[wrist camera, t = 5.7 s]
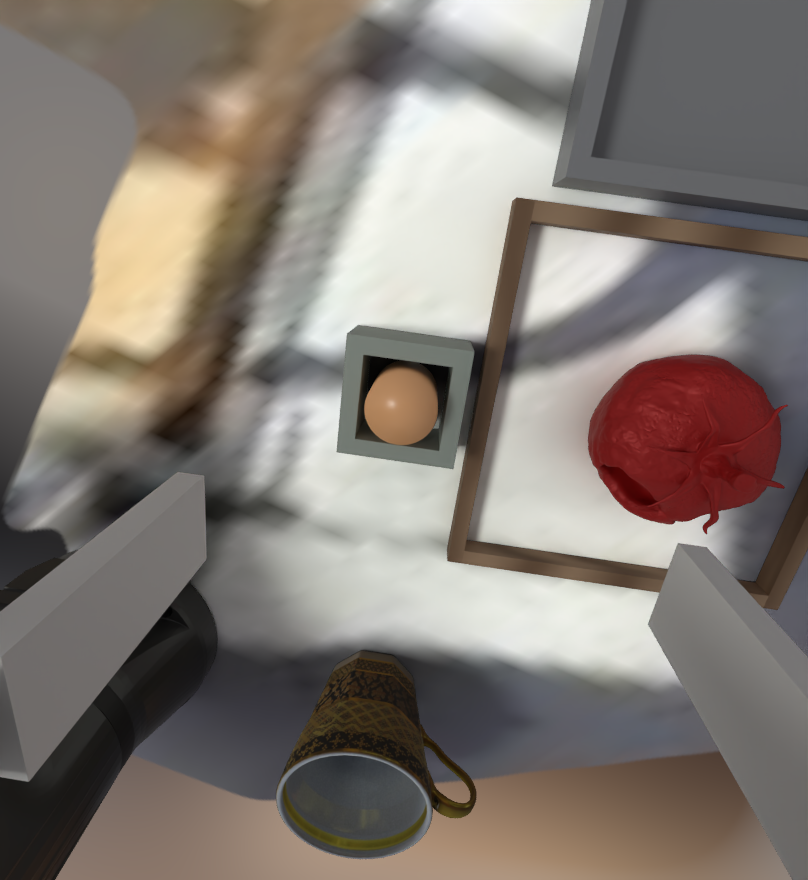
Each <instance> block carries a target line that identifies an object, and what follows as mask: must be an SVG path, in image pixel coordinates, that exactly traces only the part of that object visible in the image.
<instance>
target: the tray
mask: <svg viewBox="0 0 808 880" xmlns="http://www.w3.org/2000/svg"><path fill="white" fill-rule="evenodd" d="M552 186H555V187H562V188H569V189H577V190H584V191H592V192H599V193H606V194H614V195H621V196H628V197H636V198H643V199H650V200H658V201H665V202H672V203H680V204H687V205H694V206H702V207H709V208H717V209H724V210H731V211H739V212H746V213H753V214H761V215H768V216H775V217H783V218H790V219H797V220H805V221H808V0H591V4H590V9H589V14H588V18H587V23H586V28H585V33H584V37H583V42H582V47H581V52H580V56H579V61H578V66H577V70H576V75H575V80H574V85H573V89H572V94H571V99H570V104H569V108H568V113H567V118H566V122H565V127H564V132H563V137H562V141H561V146H560V151H559V156H558V160H557V165H556V170H555V175H554V179H553V184H552Z"/></svg>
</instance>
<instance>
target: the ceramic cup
mask: <svg viewBox="0 0 808 880" xmlns="http://www.w3.org/2000/svg"><path fill="white" fill-rule="evenodd" d="M424 746H426V747H428V748H430V749H431V750H432V751H434V752H435V754H436V755H437V756H438V758H439V759H440V760H441V761H442V762H443V763H444V764H445V765H446V766H447V767H448V768H449V769H450V770H451V771H452V772H454V773H455V774H456V775H457V776H458V777H459V778H461V779H462V781H463V782H464V783H465V784H466V785H467V786H468V788H469V790H470V796H471V797H470V801H468V802H467V803H457V802H454V801H452V800H450V799H448V798H447V797H446V796H444V795H443V794H441V793H440V792H439V791H438V790H437V789H436V787H435V785H434V783H433V780H432V778H431V775H430V773H429V770H428V768H427V763H426V758H425V752H424ZM475 802H476V789H475V786H474V783H473V781H472V780H471V778H470V777H469V776H468V774H467V773H466V772H465V771H464V770H462V769H461V768H460V767H459V766H458V765H457V764H455V763H454V762H453V761H452V760H451V759H450V758H448V757H447V756H446V755H445V754H444V752H443V751H442V750H441V749H440V747H439V746H438V745H437V744H436V743H435V742H434V741H433V740H431V739H430V738H429V737H428V735H427V734H426V733H425V731H424V729H423V727H422V725H421V724H420V720H419V713H418V707H417V702H416V694H415V687H414V679H413V676H412V675H411V674H410V673H409V672H408V671H407V669H406V668H405V667H404V666H403V665H402V664H401V663H400V662H399V661H398V660H397V659H396V658H395V657H394V656H393V655H388V654H382V653H376V652H369V651H363V650H362V651H359V652H357V653H355V654H354V655H352V656H350V657H348V658H347V659H345V660H343V661H341V662H340V663H338V664H337V665H336V666H335V668H334V670H333V672H332V674H331V676H330V678H329V680H328V682H327V684H326V686H325V688H324V690H323V693H322V695H321V697H320V699H319V701H318V703H317V705H316V707H315V709H314V711H313V713H312V716H311V718H310V720H309V721H308V723H307V725H306V726H305V728H304V730H303V732H302V733H301V735H300V737H299V739H298V741H297V743H296V745H295V747H294V749H293V751H292V753H291V756H290V758H289V760H288V762H287V764H286V767H285V769H284V772H283V774H282V776H281V779H280V781H279V784H278V787H277V792H276V803H277V808H278V811H279V814H280V816H281V818H282V819H283V821H284V823H285V824H286V825H287V827H288V828H289V829H290V830H291V831H292V832H293V833H294V834H295V835H296V836H297V837H299V838H300V839H301V840H303V841H304V842H306V843H307V844H309V845H311V846H313V847H315V848H316V849H319V850H321V851H324V852H326V853H329V854H333V855H336V856H341V857H346V858H353V859H375V858H383V857H387V856H391V855H395V854H397V853H400V852H402V851H404V850H406V849H408V848H410V847H411V846H413V845H414V844H416V843H417V842H418V841H419V840H420V839H421V838H422V837H423V836H424V835H425V833H426V832H427V830H428V828H429V826H430V823H431V820H432V813H433V808H434V809H435V810H436V811H437V812H439V813H440V814H442V815H444V816H446V817H449V818H462V817H464V816H466V815H468V814H469V813H470V812H471V810H472V809H473V807H474V804H475ZM432 807H433V808H432Z"/></svg>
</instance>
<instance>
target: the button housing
mask: <svg viewBox="0 0 808 880" xmlns="http://www.w3.org/2000/svg"><path fill="white" fill-rule="evenodd" d="M371 356H377V357H384V358H391V359H398V360H405V361H412V362H419V363H426V364H433V365H440V366H447V367H449V371H448V377H447V383H446V389H445V395H444V401H443V408H442V414H441V420H440V426H439V429H432V430H431V431H430V433H429V434H428V435H427V436H426V437H424V438H423V439H421V440H420V441H418V442H416V443H413V444H408V445H395V444H391V443H388V442H386V441H384V440H382V439H380V438H379V437H378V436H376V435H375V434H374V432H373V431H372V430H371V429H370V427H369V425H368V423H367V421H366V419H364V417H365V412H364V406H365V400H366V397H367V389H368V380H369V371H370V361H371ZM473 358H474V349H473V347H472V345H471V342H470V341H467V340H460V339H453V338H446V337H439V336H432V335H425V334H418V333H410V332H403V331H396V330H389V329H382V328H375V327H368V326H361V325H358V326H356V327H355V328H354V329H353V330H351V331H350V332H349V333H347V340H346V351H345V363H344V374H343V386H342V397H341V408H340V420H339V431H338V442H337V452H339V453H346V454H353V455H360V456H367V457H373V458H380V459H387V460H394V461H401V462H408V463H415V464H422V465H429V466H435V467H442V468H449V469H453V468H454V463H455V457H456V452H457V446H458V441H459V435H460V430H461V424H462V419H463V413H464V407H465V402H466V396H467V391H468V385H469V380H470V374H471V369H472V363H473Z"/></svg>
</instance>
